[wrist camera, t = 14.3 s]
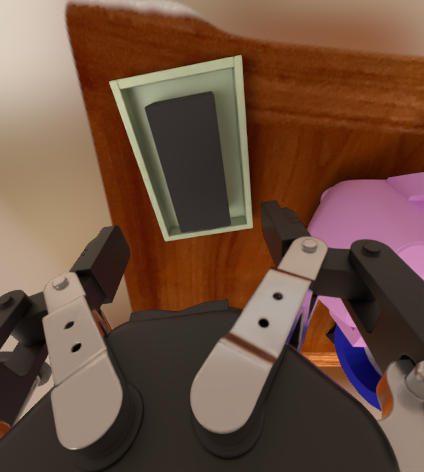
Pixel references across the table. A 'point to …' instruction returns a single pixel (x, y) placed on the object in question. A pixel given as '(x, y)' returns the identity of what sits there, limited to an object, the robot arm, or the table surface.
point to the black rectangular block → (191, 159)
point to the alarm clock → (358, 366)
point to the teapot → (372, 227)
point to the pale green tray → (229, 124)
